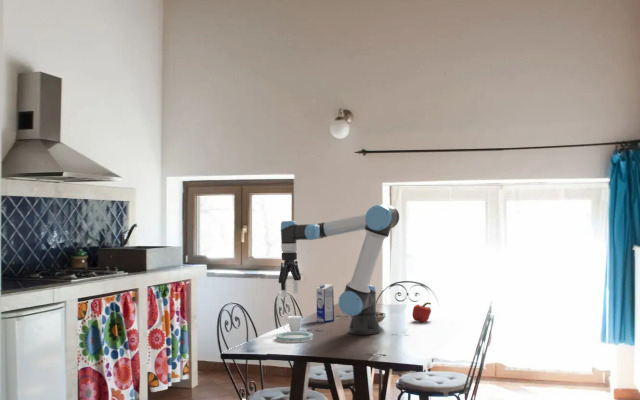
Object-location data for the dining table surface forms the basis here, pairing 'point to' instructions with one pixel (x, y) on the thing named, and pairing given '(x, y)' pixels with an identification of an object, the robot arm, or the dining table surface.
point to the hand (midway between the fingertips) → (290, 295)
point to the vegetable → (421, 312)
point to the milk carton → (325, 303)
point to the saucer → (294, 337)
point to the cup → (293, 323)
